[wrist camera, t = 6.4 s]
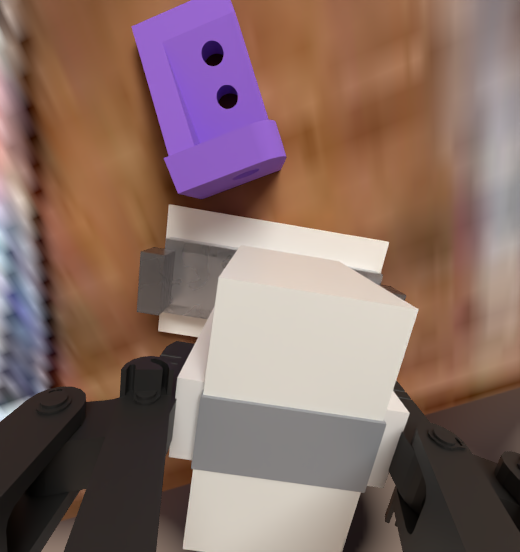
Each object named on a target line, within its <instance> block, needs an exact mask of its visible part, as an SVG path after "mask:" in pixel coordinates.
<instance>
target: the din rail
mask: <svg viewBox="0 0 520 552" xmlns="http://www.w3.org/2000/svg"><path fill="white" fill-rule="evenodd" d="M237 250H238V248H236V247H230V246H224V245H218V244H212V243H206V242H200V241H194V240H188V239H182V238H176V237H170V238H166V243H165V249H163V248H157V247H153V248H150V249H147V250H144V251H141V256H140V271H139V287H138V302H137V312H141V313H147V314H154V315H160V314H161V313H162V312H164V313H170V314H176V315H183V316H189V317H195V318H202V319H208V318H209V316H210V314H211V312H212V310H213V308H214V306H215V301H216V293H217V285H218V278H219V276H220V275H221V273H222V272H223V270H224V269H225V267H226V266H227V264H228V263H229V261H230V260H231V258H232V257H233V256H234V254H235V253H236V251H237ZM348 267H349V268H351V269H353V270H354V271H356V272H358V273H359V274H361V275H363V276H364V277H366V278H368V279H369V280H371V281H372V282H374V283H376V284H377V285H379V286H381V287H382V288H384V289H386V290H387V291H389V292H391V293H392V294H394V295H396V296H397V297H399V298H401V299H402V300H404V301H405V298H406V295H405V294H403V293H401V292H400V291H398V290H396V289H394V288H392V287H391V286H386V285H380V284H381V280H382V277H383V275H382V274H380V273H379V272H377V271H374V270H368V269H362V268H356V267H350V266H348Z"/></svg>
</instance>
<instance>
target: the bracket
mask: <svg viewBox="0 0 520 552" xmlns="http://www.w3.org/2000/svg"><path fill="white" fill-rule="evenodd" d="M132 30H133V33H134V37H135V40H136V44H137V47H138V51H139V54H140V58H141V61H142V65H143V68H144V72H145V75H146V79H147V82H148V86H149V89H150V93H151V96H152V100H153V103H154V107H155V110H156V114H157V117H158V121H159V124H160V127H161V131H162V134H163V138H164V141H165V145H166V148H167V152H168V155H169V156H168V157H165V158H164V160H165V163H166V165H167V168H168V170H169V173H170V175H171V178H172V180H173V182H174V185H175V187H176V190H177V192H178V194H182V195H186V196H190V197H194V198H199V199H204V198H207V197H210V196H212V195H215V194H218V193H220V192H223V191H226V190H228V189H231V188H234V187H236V186H239V185H242V184H244V183H247V182H250V181H252V180H255V179H258V178H260V177H263V176H266V175H268V174H271V173H274V172H276V171H279V170H281V168H282V166H283V164H284V162H285V159H286V154H285V151H284V148H283V144H282V141H281V138H280V135H279V131H278V128H277V125H276V122H275V121H274V120H268V116H267V113H266V110H265V107H264V104H263V100H262V97H261V94H260V91H259V88H258V84H257V81H256V78H255V75H254V72H253V68H252V65H251V62H250V59H249V56H248V52H247V49H246V46H245V43H244V40H243V36H242V33H241V30H240V27H239V24H238V20H237V17H236V14H235V11H234V8H233V6H232V3H231V0H191V1H189V2H186V3H184V4H182V5H180V6H177V7H175V8H173V9H171V10H168V11H166V12H164V13H161V14H159V15H157V16H155V17H152V18H150V19H148V20H146V21H143V22H141V23H139V24H136V25H134V26H132ZM213 54H221V55H223V60H222V61H221V63H220V64H219V65H217V66H209V65H207V64H206V63H205V61H206V60H207V58H208V57H209V56H211V55H213ZM228 93H232V94H235V95H237V96H238V101H237V103H236V105H235V106H234V107H233V108H230V109H225V108H222V107H221V106H220V105H219V104H218V102H219V100H220V98H221V97H222V96H223V95H225V94H228Z"/></svg>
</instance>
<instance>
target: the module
mask: <svg viewBox="0 0 520 552" xmlns="http://www.w3.org/2000/svg"><path fill="white" fill-rule="evenodd" d="M418 310H419V309H417V308H415V307H414V306H412V305H410V304H409V303H407V302H405V301H404V300H402V299H401V298H399V297H397V296H396V295H394V294H392V293H391V292H389V291H387V290H386V289H384V288H382V287H381V286H379V285H377V284H376V283H374V282H372V281H371V280H369V279H368V278H366V277H364V276H363V275H361V274H359V273H358V272H356V271H354V270H353V269H351V268H349V267H348V266H346V265H344V264H343V263H341V262H340V261H335V260H329V259H323V258H317V257H311V256H305V255H299V254H293V253H287V252H281V251H275V250H269V249H262V248H256V247H250V246H244V245H240V247H239V248H238V250H237V251H236V253H235V254H234V256H233V257H232V258H231V260H230V261H229V263H228V264H227V266H226V267H225V269H224V270H223V272H222V273H221V275H220V276H219V278H218V285H217V293H216V301H215V308H214V316H213V323H212V331H211V338H210V346H209V353H208V361H207V369H206V376H205V384H204V390H203V391H202V394H201V396H200V403H199V411H198V419H197V427H196V434H195V442H194V450H193V457H192V465H191V469H193V474H192V482H191V490H190V498H189V505H188V512H187V521H186V527H185V535H184V543H183V549H186V550H194V551H202V552H342V549H343V546H344V543H345V540H346V537H347V534H348V531H349V527H350V524H351V521H352V518H353V515H354V512H355V508H356V505H357V502H358V499H359V495H360V493H361V492H363V493H364V492H365V490H366V487H367V484H368V481H369V477H370V474H371V471H372V468H373V465H374V462H375V459H376V456H377V453H378V449H379V446H380V443H381V440H382V437H383V434H384V431H385V428H386V422H385V421H384V417H385V414H386V411H387V408H388V404H389V401H390V398H391V395H392V392H393V389H394V385H395V382H396V379H397V376H398V373H399V370H400V366H401V363H402V360H403V357H404V354H405V351H406V348H407V344H408V341H409V338H410V335H411V332H412V329H413V325H414V322H415V319H416V316H417V313H418Z"/></svg>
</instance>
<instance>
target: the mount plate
mask: <svg viewBox="0 0 520 552" xmlns="http://www.w3.org/2000/svg"><path fill="white" fill-rule="evenodd" d="M170 237H176V238H182V239H188V240H194V241H200V242H206V243H212V244H218V245H224V246H230V247H236V248H239V247H240V245H244V246H250V247H256V248H262V249H269V250H275V251H281V252H287V253H293V254H299V255H305V256H311V257H317V258H323V259H329V260H335V261H340V262H341V263H343V264H344V265H346V266H350V267H356V268H362V269H368V270H374V271H377V272H379V273H381V270H382V266H383V262H384V259H385V255H386V252H387V248H388V245H389V242H386V241H381V240H375V239H369V238H364V237H358V236H352V235H346V234H340V233H334V232H329V231H323V230H317V229H311V228H305V227H299V226H294V225H288V224H282V223H276V222H270V221H264V220H259V219H253V218H247V217H241V216H235V215H229V214H224V213H218V212H212V211H206V210H200V209H194V208H189V207H183V206H177V205H170V204H169V209H168V221H167V233H166V238H170ZM207 320H208V319H202V318H195V317H189V316H183V315H176V314H170V313H164V312H162V313H161V314H160V315H159V326H158V331H161V332H167V333H174V334H180V335H187V336H193V337H199V335H200V333H201V331H202V329H203V327H204V325H205V324H206V322H207Z"/></svg>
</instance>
